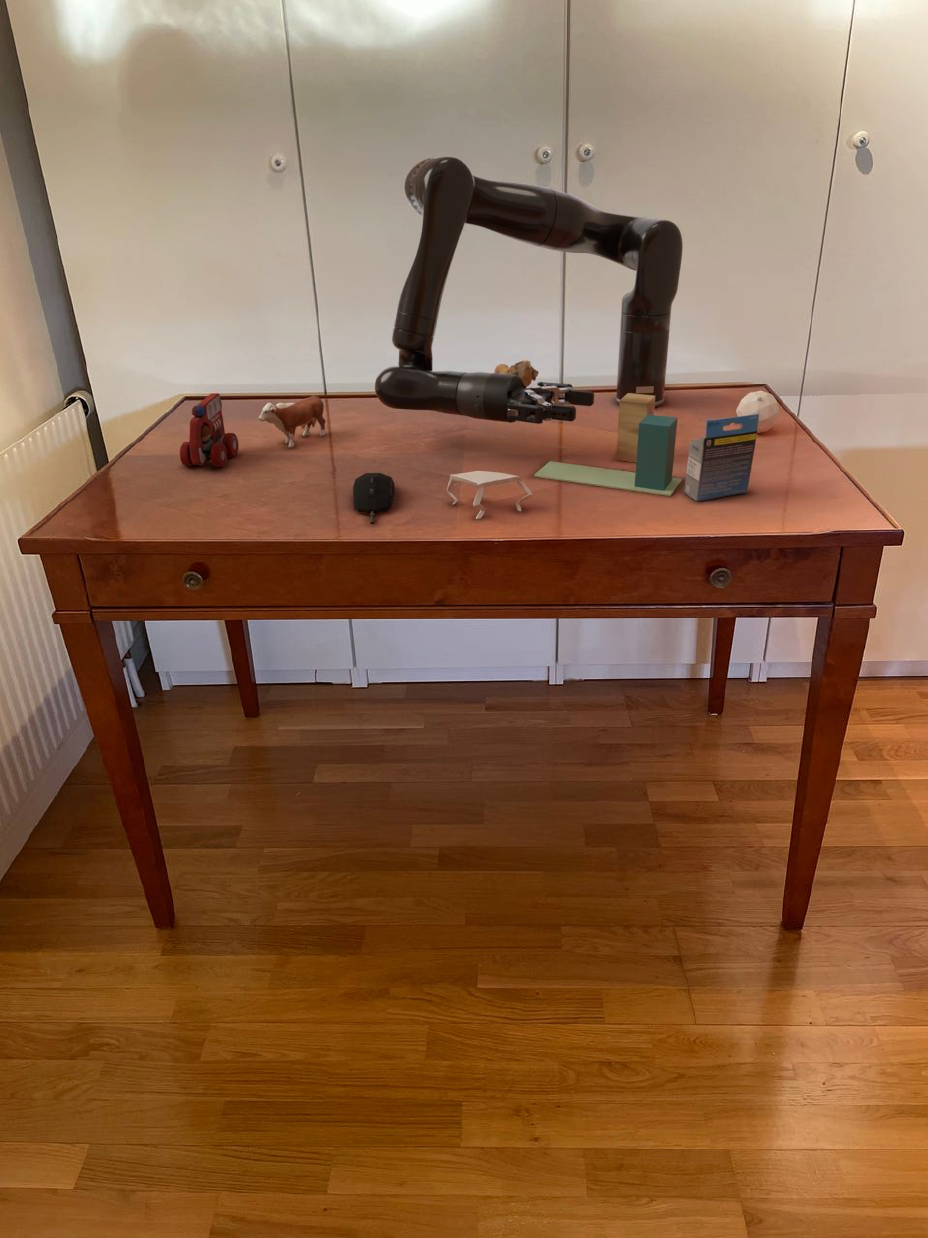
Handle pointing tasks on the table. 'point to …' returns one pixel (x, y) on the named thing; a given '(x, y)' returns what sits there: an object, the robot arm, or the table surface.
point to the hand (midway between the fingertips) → (584, 406)
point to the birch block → (631, 423)
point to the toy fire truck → (208, 435)
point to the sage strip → (599, 477)
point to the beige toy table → (485, 485)
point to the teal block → (655, 452)
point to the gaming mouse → (373, 493)
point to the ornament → (760, 409)
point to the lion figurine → (519, 371)
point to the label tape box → (721, 459)
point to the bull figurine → (295, 416)
